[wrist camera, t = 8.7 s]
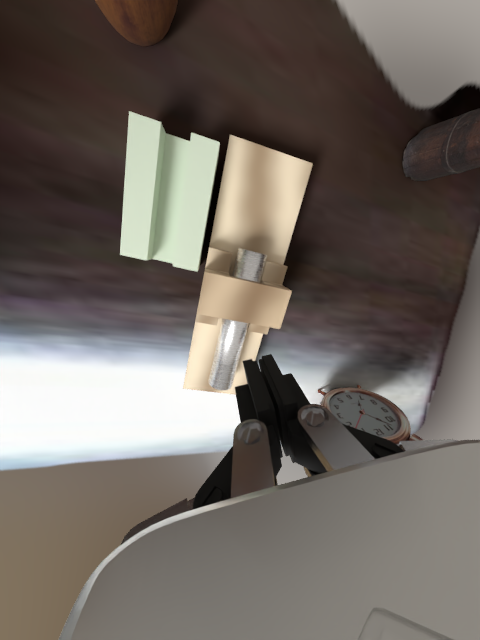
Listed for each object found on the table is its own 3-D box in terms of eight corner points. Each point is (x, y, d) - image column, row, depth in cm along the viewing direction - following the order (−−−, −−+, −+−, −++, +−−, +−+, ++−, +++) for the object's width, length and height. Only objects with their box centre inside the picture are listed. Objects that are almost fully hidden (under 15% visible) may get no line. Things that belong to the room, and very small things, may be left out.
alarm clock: (370, 378, 35) (473, 469, 22) (365, 402, 37) (458, 501, 23) (304, 386, 34) (369, 488, 20) (303, 411, 36) (361, 520, 22)
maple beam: (185, 377, 31) (178, 414, 24) (228, 145, 22) (235, 106, 16) (242, 384, 33) (250, 421, 26) (303, 170, 24) (338, 145, 17)
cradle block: (135, 251, 25) (119, 254, 21) (145, 136, 21) (129, 111, 17) (199, 266, 26) (197, 271, 22) (218, 159, 23) (220, 142, 19)
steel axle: (230, 376, 29) (233, 391, 26) (207, 374, 28) (209, 389, 26) (262, 253, 24) (271, 256, 22) (236, 247, 24) (241, 248, 21)
